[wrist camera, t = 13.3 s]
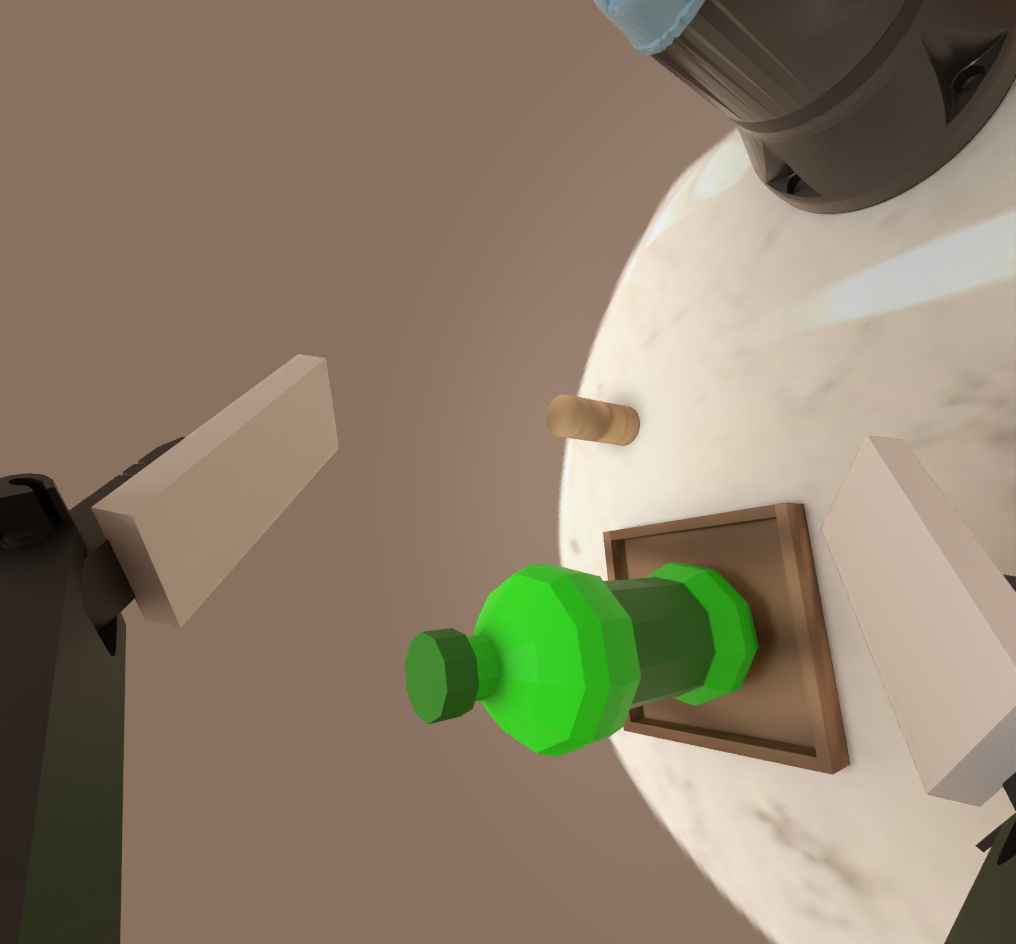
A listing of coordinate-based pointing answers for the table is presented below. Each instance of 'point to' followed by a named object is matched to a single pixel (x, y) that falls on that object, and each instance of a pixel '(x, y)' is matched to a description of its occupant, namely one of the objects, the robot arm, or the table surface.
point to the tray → (779, 629)
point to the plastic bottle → (585, 652)
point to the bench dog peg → (592, 420)
